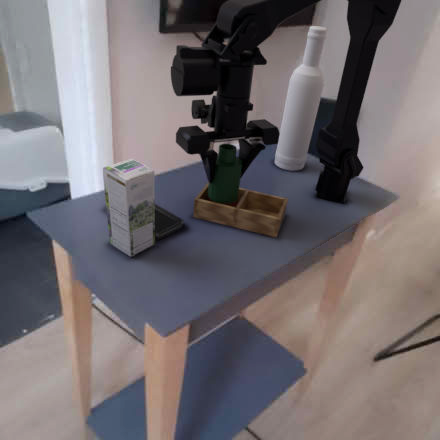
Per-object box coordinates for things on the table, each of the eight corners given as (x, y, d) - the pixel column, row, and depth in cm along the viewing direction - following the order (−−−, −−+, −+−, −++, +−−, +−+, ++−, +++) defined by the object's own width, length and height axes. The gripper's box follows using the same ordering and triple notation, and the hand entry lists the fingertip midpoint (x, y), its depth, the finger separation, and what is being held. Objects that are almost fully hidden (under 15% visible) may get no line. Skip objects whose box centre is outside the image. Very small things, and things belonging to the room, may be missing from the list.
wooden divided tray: (284, 215, 82) (288, 198, 80) (276, 237, 76) (280, 219, 73) (207, 197, 85) (208, 180, 82) (193, 217, 79) (194, 199, 76)
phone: (155, 236, 70) (103, 204, 77) (155, 242, 71) (104, 209, 78) (186, 221, 75) (135, 191, 81) (186, 226, 76) (135, 196, 82)
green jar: (241, 192, 80) (247, 144, 74) (233, 206, 76) (239, 156, 69) (213, 186, 81) (217, 138, 75) (203, 199, 77) (207, 149, 70)
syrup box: (134, 232, 73) (129, 156, 63) (156, 245, 70) (154, 168, 61) (109, 244, 69) (100, 165, 60) (131, 259, 67) (126, 179, 57)
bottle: (271, 167, 100) (296, 26, 80) (276, 155, 106) (302, 22, 86) (301, 173, 99) (336, 32, 79) (306, 162, 104) (338, 27, 84)
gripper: (255, 78, 75) (244, 157, 85) (163, 82, 67) (164, 168, 78) (288, 96, 68) (272, 180, 78) (190, 102, 60) (187, 194, 71)
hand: (224, 179), depth 76 cm, fingers closed on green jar, 6 cm apart
